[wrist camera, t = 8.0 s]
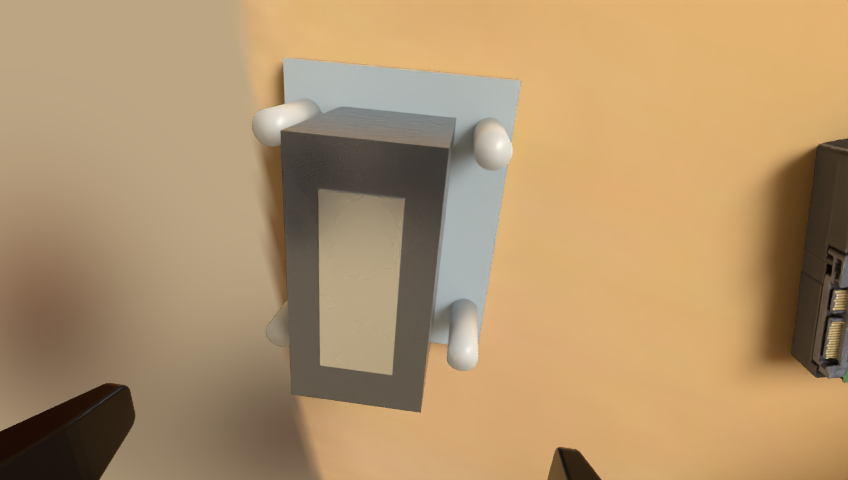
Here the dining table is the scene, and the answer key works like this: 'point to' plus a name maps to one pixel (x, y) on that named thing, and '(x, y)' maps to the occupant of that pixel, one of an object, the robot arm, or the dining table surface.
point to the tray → (469, 177)
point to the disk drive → (825, 269)
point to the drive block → (364, 251)
